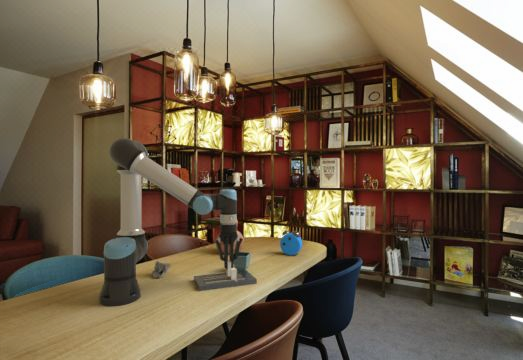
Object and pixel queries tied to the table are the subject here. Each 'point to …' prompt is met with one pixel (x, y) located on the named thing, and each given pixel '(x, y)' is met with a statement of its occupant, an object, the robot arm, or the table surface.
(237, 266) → the flower pot
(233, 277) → the fader ivory
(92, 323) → the table surface
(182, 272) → the table surface
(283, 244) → the alarm clock
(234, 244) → the jug
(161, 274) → the mineral specimen
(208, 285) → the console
